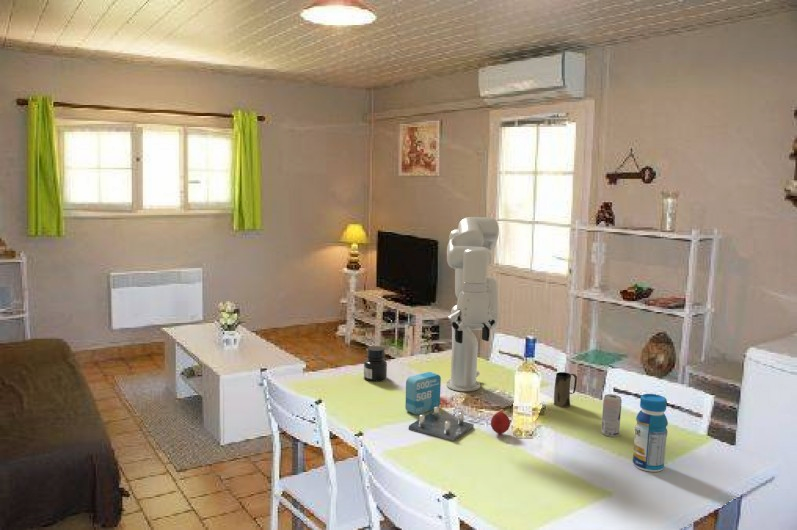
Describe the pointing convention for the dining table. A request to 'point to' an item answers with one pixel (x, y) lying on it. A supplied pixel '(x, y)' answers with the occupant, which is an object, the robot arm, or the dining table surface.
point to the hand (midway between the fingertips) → (472, 341)
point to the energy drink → (611, 415)
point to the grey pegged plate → (441, 425)
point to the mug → (563, 389)
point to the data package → (422, 392)
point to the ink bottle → (375, 364)
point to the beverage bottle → (650, 433)
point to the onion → (500, 422)
